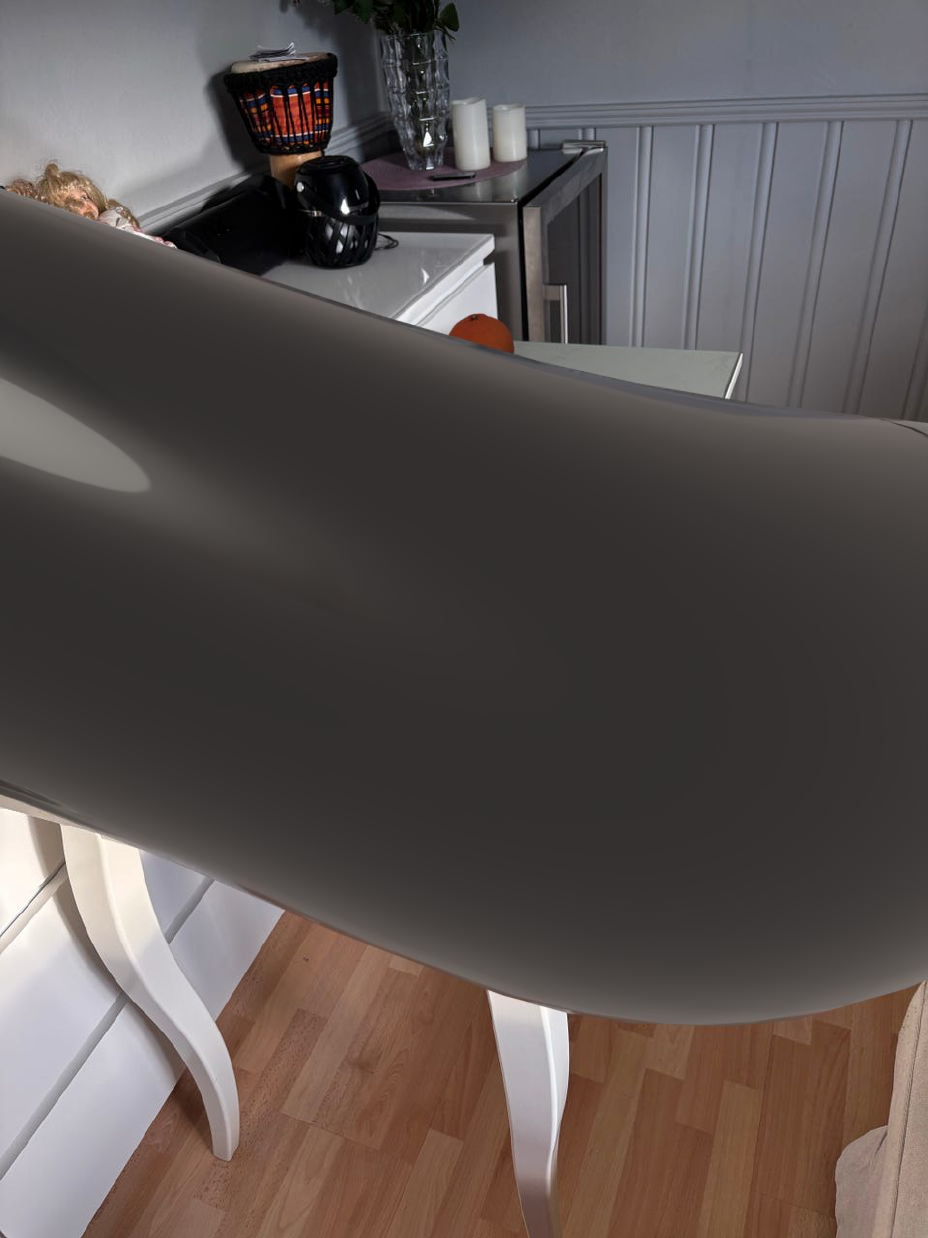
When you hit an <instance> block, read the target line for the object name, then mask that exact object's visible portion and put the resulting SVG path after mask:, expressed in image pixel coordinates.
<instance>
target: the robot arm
mask: <svg viewBox="0 0 928 1238" xmlns="http://www.w3.org/2000/svg"><path fill="white" fill-rule="evenodd" d="M0 796H2V797H5V798H9V799H12V800H14V801H17V802H20V803H23V804H25V805H28V806H30V807H33V808H35V809H38V810H40V811H42V812H45V813H48V814H50V815H53V816H55V817H56V818H57V817H58V818H60V819H63V820H65V821H68V822H70V823H73V824H76V825H78V826H80V827H82V828H85V829H88V830H90V831H93V832H96V833H98V834H100V835H103V836H106V837H108V838H110V839H113V840H116V841H118V842H120V843H123V844H126V845H128V846H131V847H132V848H136V849H137V850H141V851H143V852H145V853H147V854H148V853H149V854H150V855H153V856H156V857H159V858H161V859H163V860H166V861H168V862H171V863H173V864H176V865H177V866H181V867H184V868H186V869H189V870H191V871H193V872H196V873H198V874H200V875H202V876H205V877H207V878H209V879H211V880H214V881H216V882H219V883H220V884H223V885H226V886H228V887H230V888H232V889H235V890H236V891H239V892H241V893H244V894H246V895H248V896H250V897H253V898H255V899H257V900H259V901H263V902H265V903H267V904H269V905H272V906H274V907H276V908H278V909H281V910H283V911H285V912H288V913H290V914H292V915H295V916H297V917H299V918H302V919H304V920H306V921H309V922H310V923H313V924H315V925H318V926H320V927H323V928H325V929H327V930H328V931H329V930H330V931H332V932H334V933H336V934H339V935H341V936H344V937H347V938H350V939H351V940H355V941H357V942H359V943H362V944H365V945H368V946H369V947H373V948H375V949H378V950H381V951H383V952H386V953H389V954H392V955H393V956H396V957H399V958H402V959H405V960H406V961H410V962H413V963H415V964H417V965H420V966H423V967H425V968H428V969H431V970H434V971H436V972H439V973H442V974H444V975H447V976H448V977H449V976H450V977H452V978H455V979H457V980H460V981H463V982H465V983H468V984H470V985H473V986H476V987H479V988H481V989H484V990H487V991H490V992H492V993H495V994H497V995H499V996H503V997H506V998H510V999H513V1000H516V1001H517V1000H518V1001H521V1002H524V1003H528V1004H533V1005H536V1006H540V1007H543V1008H548V1009H551V1010H555V1011H559V1012H562V1013H565V1014H569V1015H570V1014H571V1015H577V1016H581V1017H588V1018H595V1019H600V1020H607V1021H612V1022H618V1023H619V1022H620V1023H624V1024H637V1025H667V1026H694V1027H695V1026H698V1027H699V1026H700V1027H744V1026H752V1025H753V1026H754V1025H762V1024H771V1023H778V1022H779V1023H781V1022H788V1021H796V1020H801V1019H805V1018H808V1017H812V1016H814V1015H815V1016H816V1015H818V1014H822V1013H826V1012H829V1011H833V1010H836V1009H840V1008H843V1007H846V1006H847V1007H848V1006H850V1005H854V1004H858V1003H861V1002H865V1001H868V1000H871V999H875V998H878V997H882V996H886V995H888V994H892V993H896V992H899V991H903V990H907V989H908V988H912V987H913V986H917V985H918V984H920V983H923V982H925V981H928V422H922V421H912V420H905V419H896V418H889V417H888V418H887V417H879V416H872V415H861V414H856V413H847V412H838V411H828V410H820V409H819V410H818V409H809V408H802V407H801V408H800V407H791V406H783V405H782V406H780V405H774V404H773V405H772V404H764V403H763V404H762V403H756V402H749V401H745V400H738V399H733V398H727V397H721V396H715V395H709V394H703V393H699V392H698V393H697V392H692V391H686V390H680V389H674V388H670V387H669V388H668V387H663V386H658V385H657V386H656V385H653V384H652V385H650V384H646V383H641V382H640V383H639V382H634V381H629V380H625V379H620V378H615V377H611V376H608V375H607V376H606V375H601V374H598V373H594V372H593V373H592V372H588V371H584V370H579V369H575V368H570V367H565V366H561V365H556V364H553V363H549V362H545V361H541V360H538V359H537V360H536V359H533V358H530V357H526V356H524V355H519V354H516V353H514V354H512V353H509V352H506V351H502V350H499V349H495V348H492V347H488V346H485V345H481V344H478V343H474V342H471V341H467V340H464V339H461V338H457V337H454V336H450V335H448V333H443V332H440V331H436V330H433V329H430V328H426V327H422V326H419V325H416V324H412V323H408V322H405V321H401V320H398V319H394V318H391V317H387V316H384V315H381V314H378V313H374V312H371V311H368V310H365V309H363V308H359V307H356V306H353V305H349V304H348V303H347V304H346V303H343V302H341V301H337V300H334V299H331V298H328V297H325V296H322V295H319V294H317V293H313V292H310V291H306V290H303V289H300V288H296V287H294V286H291V285H288V284H284V283H282V282H279V281H275V280H272V279H269V278H267V277H266V278H265V277H262V276H260V275H256V274H253V273H251V272H247V271H244V270H241V269H238V268H235V267H232V266H229V265H225V264H223V263H220V262H217V261H214V260H211V259H209V258H206V257H203V256H200V255H197V254H194V253H191V252H188V251H185V250H182V249H179V248H177V247H175V246H171V245H168V244H166V243H165V244H164V243H162V242H159V241H157V240H153V239H150V238H147V237H145V236H142V235H139V234H136V233H134V232H130V231H128V230H125V229H122V228H118V227H116V226H113V225H110V224H107V223H104V222H101V221H98V220H96V219H92V218H89V217H86V216H83V215H81V214H77V213H75V212H72V211H69V210H66V209H64V208H60V207H58V206H54V205H52V204H49V203H47V202H43V201H40V200H38V199H34V198H31V197H29V196H25V195H23V194H19V193H17V192H13V191H11V190H8V189H5V188H2V187H0Z"/></svg>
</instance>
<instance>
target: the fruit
mask: <svg viewBox="0 0 928 1238" xmlns="http://www.w3.org/2000/svg"><path fill="white" fill-rule="evenodd" d="M447 335H450V336H454V337H457V338H461V339H464V340H467V341H471V342H474V343H478V344H481V345H485V346H488V347H492V348H495V349H499V350H502V351H506V352H509V353H512V354H515V342H514V339H513V336H512V333H511V331H510V330H509V328H508V327H507V326H506V324H504V323H503V322H502V321H500V320H499V319H498V318H495V317H493V316H491V315H490V316H489V315H487V314H485V313H483V312H482V313H481V312H480V313H470V314H469V315H467V316H466V317H464V318H462V319H460V320H459V321H457V322H456V323H455V324H454V325H453V326H452V328H451V330H450V331H449V333H447Z"/></svg>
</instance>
